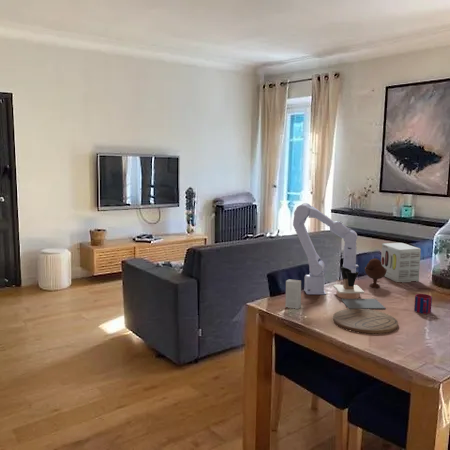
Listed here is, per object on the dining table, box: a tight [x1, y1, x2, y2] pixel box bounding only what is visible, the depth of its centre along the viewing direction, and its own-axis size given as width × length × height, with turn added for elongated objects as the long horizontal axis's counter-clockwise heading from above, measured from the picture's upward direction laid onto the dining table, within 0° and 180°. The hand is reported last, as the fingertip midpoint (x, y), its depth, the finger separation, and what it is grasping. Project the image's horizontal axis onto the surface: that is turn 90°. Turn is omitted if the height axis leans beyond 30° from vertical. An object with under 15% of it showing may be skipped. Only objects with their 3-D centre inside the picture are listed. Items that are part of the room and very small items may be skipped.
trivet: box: [332, 308, 399, 335], centre depth 187 cm, size 25×25×2 cm
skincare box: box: [285, 278, 302, 310], centre depth 204 cm, size 6×4×12 cm
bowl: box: [336, 290, 361, 299], centre depth 222 cm, size 10×10×3 cm
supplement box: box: [380, 242, 422, 283], centre depth 253 cm, size 17×13×18 cm
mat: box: [340, 298, 386, 310], centre depth 209 cm, size 16×13×1 cm
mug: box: [413, 293, 433, 315], centre depth 198 cm, size 7×10×7 cm
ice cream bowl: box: [364, 258, 387, 289], centre depth 236 cm, size 11×11×15 cm
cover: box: [333, 278, 365, 294], centre depth 221 cm, size 12×12×5 cm
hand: (348, 284), depth 221 cm, fingers open, 7 cm apart
